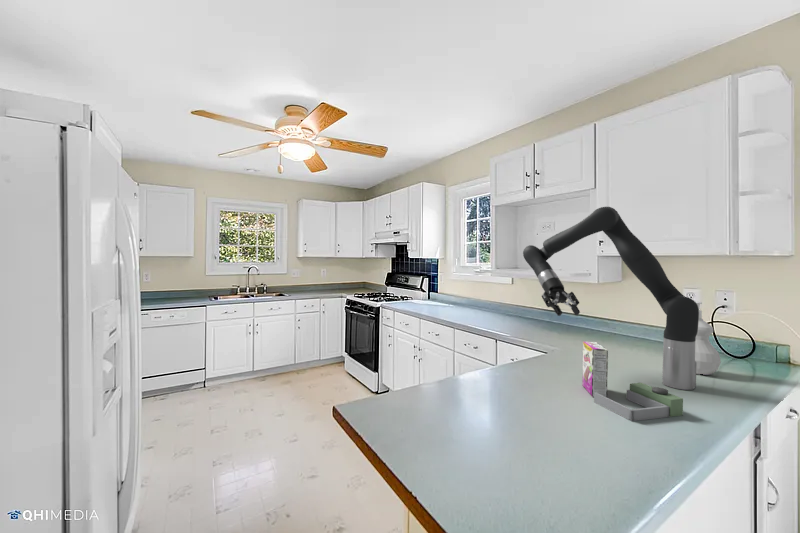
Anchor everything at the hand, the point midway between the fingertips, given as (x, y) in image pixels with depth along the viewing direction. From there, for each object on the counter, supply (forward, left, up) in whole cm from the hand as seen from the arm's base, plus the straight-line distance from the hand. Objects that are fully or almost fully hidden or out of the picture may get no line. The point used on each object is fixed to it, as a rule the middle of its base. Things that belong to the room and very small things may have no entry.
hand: (569, 314), depth 137 cm
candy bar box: (+2, +15, -25) cm, 29 cm away
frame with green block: (-1, +30, -25) cm, 39 cm away
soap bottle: (-58, +4, -25) cm, 63 cm away
